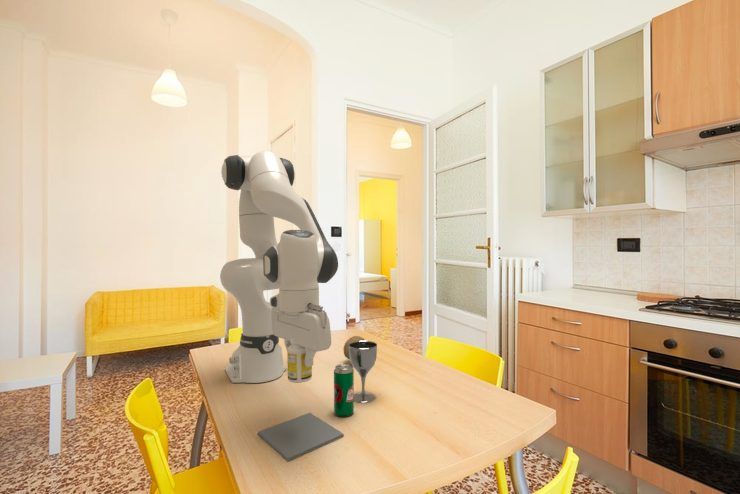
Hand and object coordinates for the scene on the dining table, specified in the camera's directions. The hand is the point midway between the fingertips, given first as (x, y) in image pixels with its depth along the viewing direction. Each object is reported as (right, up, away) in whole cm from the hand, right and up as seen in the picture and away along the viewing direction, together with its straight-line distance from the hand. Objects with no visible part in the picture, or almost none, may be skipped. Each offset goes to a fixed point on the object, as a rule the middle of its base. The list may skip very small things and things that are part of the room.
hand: (299, 362), depth 82 cm
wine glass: (+14, -17, +21) cm, 30 cm away
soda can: (+9, -17, +11) cm, 22 cm away
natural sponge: (+11, -17, +50) cm, 54 cm away
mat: (0, -17, 0) cm, 17 cm away
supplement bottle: (0, -4, 0) cm, 4 cm away
